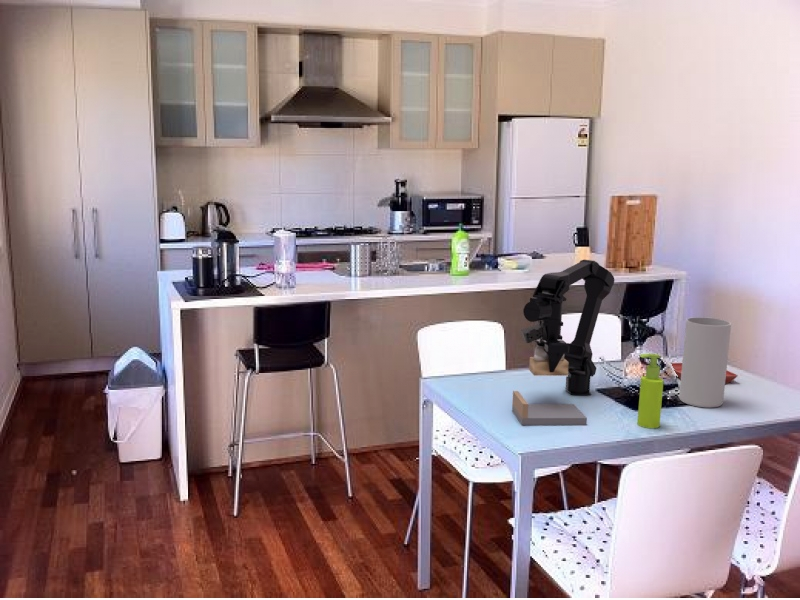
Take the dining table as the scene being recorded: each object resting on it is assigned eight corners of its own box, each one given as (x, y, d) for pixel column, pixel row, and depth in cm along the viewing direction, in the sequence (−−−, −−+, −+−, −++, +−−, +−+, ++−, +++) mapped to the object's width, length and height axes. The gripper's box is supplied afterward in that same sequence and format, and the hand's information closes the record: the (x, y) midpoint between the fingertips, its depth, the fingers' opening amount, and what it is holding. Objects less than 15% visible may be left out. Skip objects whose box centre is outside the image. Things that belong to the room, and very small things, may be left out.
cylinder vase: (731, 404, 234) (740, 323, 229) (704, 410, 227) (713, 327, 223) (696, 393, 244) (704, 315, 240) (670, 399, 238) (677, 319, 233)
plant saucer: (660, 371, 270) (661, 362, 270) (707, 370, 274) (708, 361, 273) (687, 386, 253) (688, 377, 252) (738, 385, 256) (739, 375, 255)
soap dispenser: (630, 421, 217) (636, 351, 213) (654, 421, 217) (660, 351, 214) (638, 428, 211) (644, 357, 207) (663, 428, 211) (669, 357, 208)
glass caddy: (561, 370, 232) (563, 345, 231) (567, 375, 226) (569, 350, 225) (529, 370, 232) (530, 345, 230) (534, 375, 226) (535, 350, 224)
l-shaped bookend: (573, 410, 224) (574, 390, 223) (586, 424, 213) (587, 403, 212) (512, 411, 223) (513, 390, 222) (521, 425, 211) (522, 404, 210)
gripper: (517, 311, 235) (514, 361, 237) (532, 324, 216) (529, 378, 219) (553, 311, 235) (550, 361, 238) (571, 324, 217) (568, 378, 220)
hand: (548, 369), depth 229 cm, fingers closed on glass caddy, 6 cm apart
